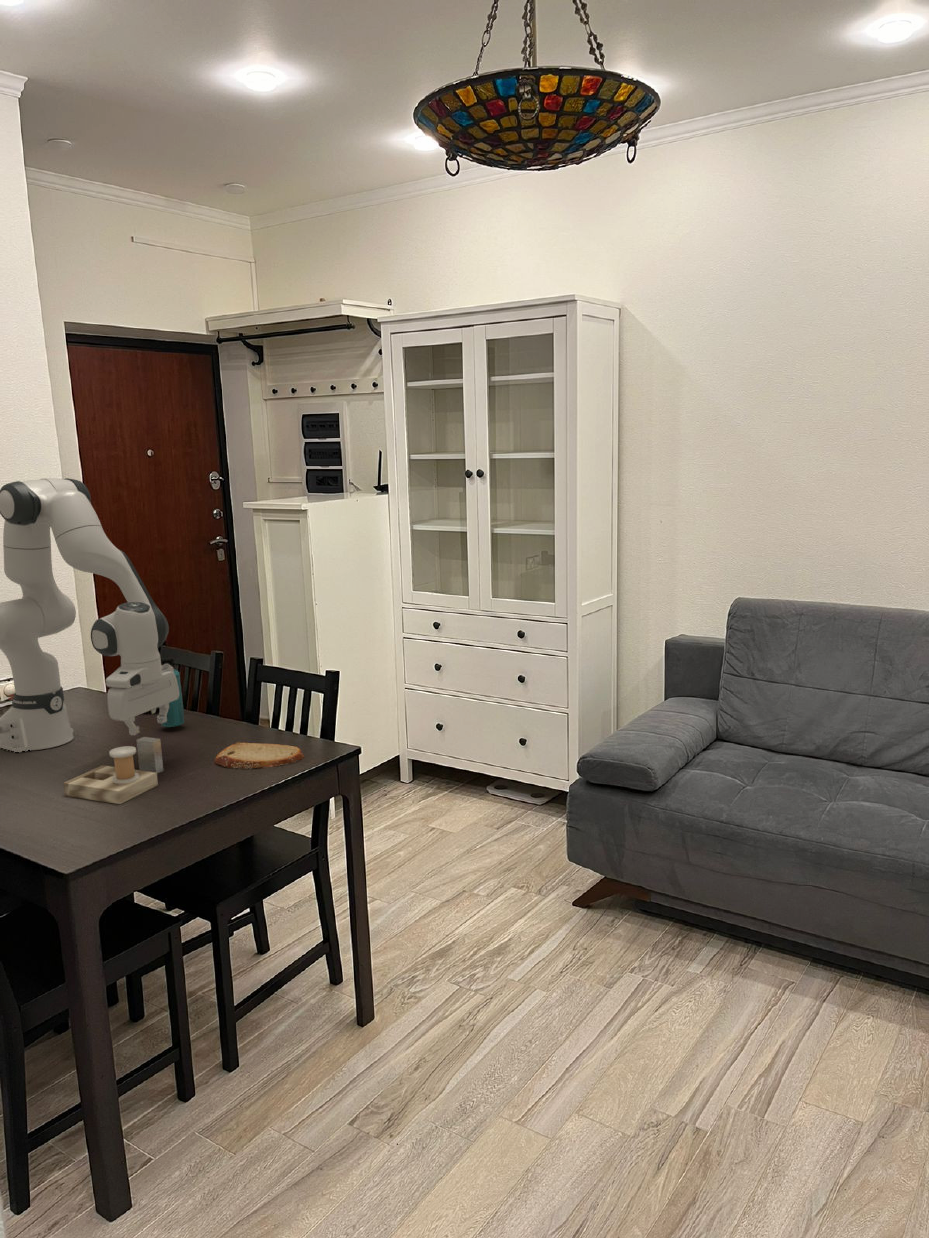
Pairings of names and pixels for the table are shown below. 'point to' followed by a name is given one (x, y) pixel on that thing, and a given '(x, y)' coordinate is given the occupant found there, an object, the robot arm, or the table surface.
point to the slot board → (108, 785)
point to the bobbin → (124, 765)
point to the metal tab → (150, 754)
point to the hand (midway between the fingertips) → (148, 728)
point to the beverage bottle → (175, 707)
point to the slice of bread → (257, 755)
